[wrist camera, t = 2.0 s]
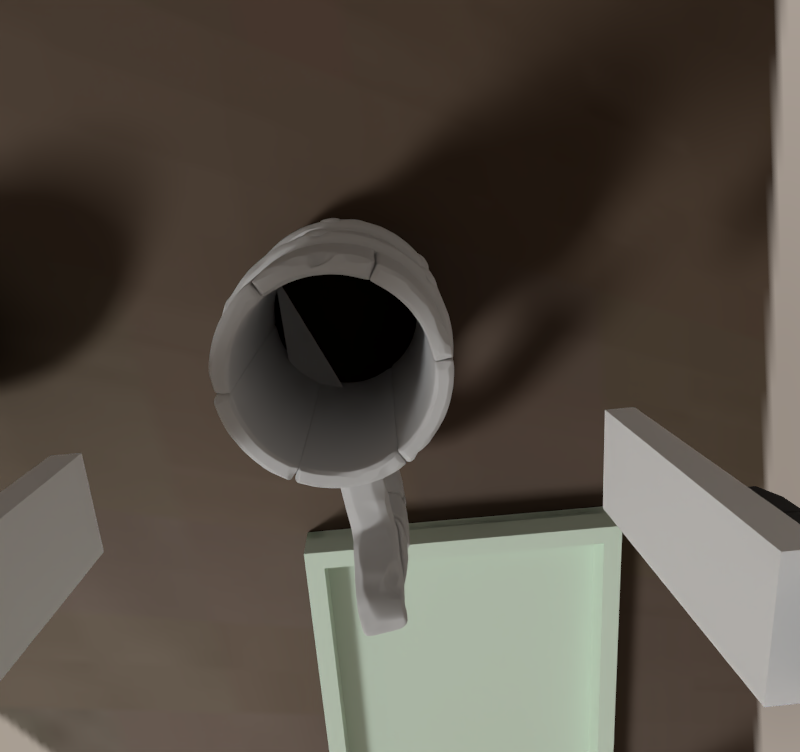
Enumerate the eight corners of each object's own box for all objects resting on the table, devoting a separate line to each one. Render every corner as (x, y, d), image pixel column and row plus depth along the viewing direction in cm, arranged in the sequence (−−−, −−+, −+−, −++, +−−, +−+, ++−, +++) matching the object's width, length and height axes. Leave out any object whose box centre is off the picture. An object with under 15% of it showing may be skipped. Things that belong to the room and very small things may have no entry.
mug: (417, 198, 24) (465, 188, 12) (469, 464, 27) (545, 658, 15) (230, 239, 24) (98, 269, 12) (305, 500, 27) (257, 720, 15)
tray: (308, 532, 27) (303, 554, 26) (606, 505, 28) (622, 525, 26) (344, 824, 32) (343, 859, 30) (597, 798, 33) (610, 831, 31)
